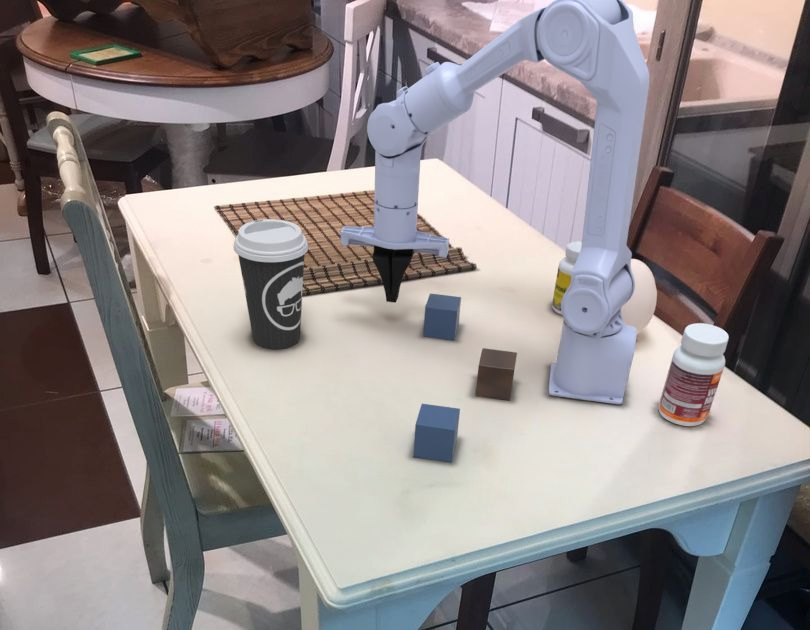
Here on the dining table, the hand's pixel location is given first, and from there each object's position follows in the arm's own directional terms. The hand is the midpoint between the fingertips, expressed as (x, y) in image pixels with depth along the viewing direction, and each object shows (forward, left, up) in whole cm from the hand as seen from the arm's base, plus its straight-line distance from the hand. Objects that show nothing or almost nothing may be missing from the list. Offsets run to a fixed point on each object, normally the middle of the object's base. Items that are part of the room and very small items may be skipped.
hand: (392, 299), depth 118 cm
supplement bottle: (-25, -12, -4) cm, 28 cm away
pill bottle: (-40, +14, -4) cm, 43 cm away
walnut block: (-16, +14, -4) cm, 22 cm away
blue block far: (-7, 0, -4) cm, 8 cm away
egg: (-32, -5, -4) cm, 33 cm away
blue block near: (-11, +29, -4) cm, 31 cm away
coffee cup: (+15, +8, -4) cm, 17 cm away
